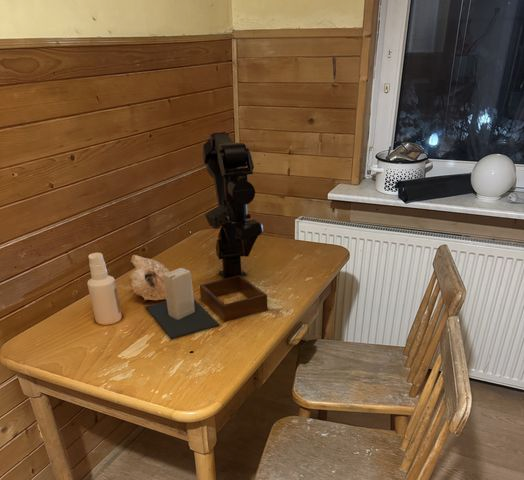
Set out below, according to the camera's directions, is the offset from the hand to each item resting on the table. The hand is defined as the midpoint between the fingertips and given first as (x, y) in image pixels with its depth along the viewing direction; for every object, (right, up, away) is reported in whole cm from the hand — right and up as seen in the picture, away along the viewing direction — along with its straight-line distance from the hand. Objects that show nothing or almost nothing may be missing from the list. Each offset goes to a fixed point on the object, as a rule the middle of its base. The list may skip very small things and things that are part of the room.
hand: (238, 251), depth 141 cm
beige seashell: (-25, -11, +7) cm, 28 cm away
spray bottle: (-34, -20, -6) cm, 40 cm away
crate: (-1, -15, -1) cm, 15 cm away
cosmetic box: (-15, -18, -7) cm, 25 cm away
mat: (-15, -19, -7) cm, 25 cm away
